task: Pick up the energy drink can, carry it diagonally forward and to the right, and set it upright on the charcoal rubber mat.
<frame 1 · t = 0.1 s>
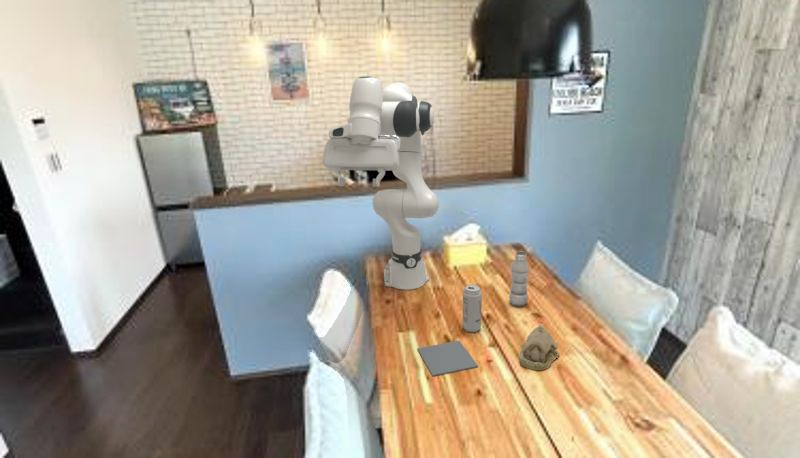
hand: (358, 185, 120), 54 cm above the table, tool tilted 30°, fingers open, 8 cm apart
energy drink can: (471, 329, 154), on the table
ceramic model: (538, 358, 138), on the table
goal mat: (446, 358, 139), on the table
plastic bottle: (518, 304, 169), on the table
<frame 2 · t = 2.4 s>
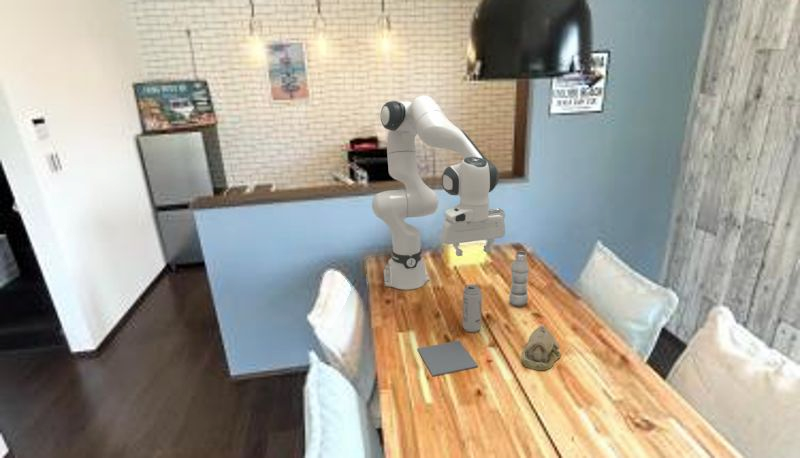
hand: (473, 253, 145), 27 cm above the table, tool pointing down, fingers open, 8 cm apart
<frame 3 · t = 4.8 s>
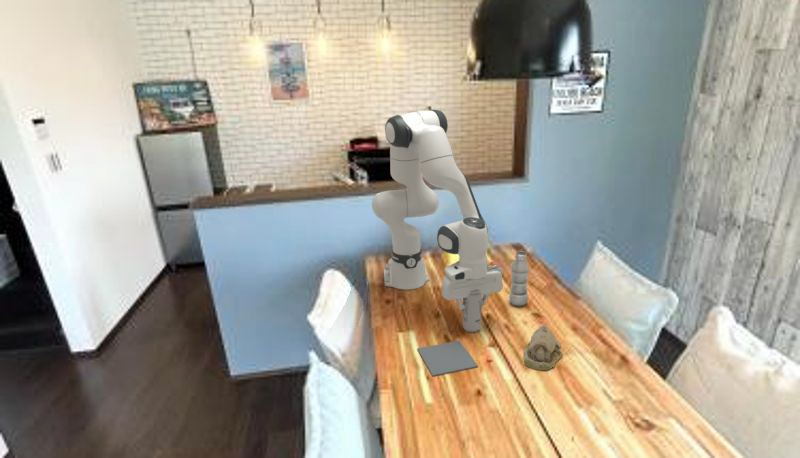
hand: (472, 306, 151), 8 cm above the table, tool pointing down, fingers closed on energy drink can, 6 cm apart
energy drink can: (471, 329, 154), on the table, touching gripper
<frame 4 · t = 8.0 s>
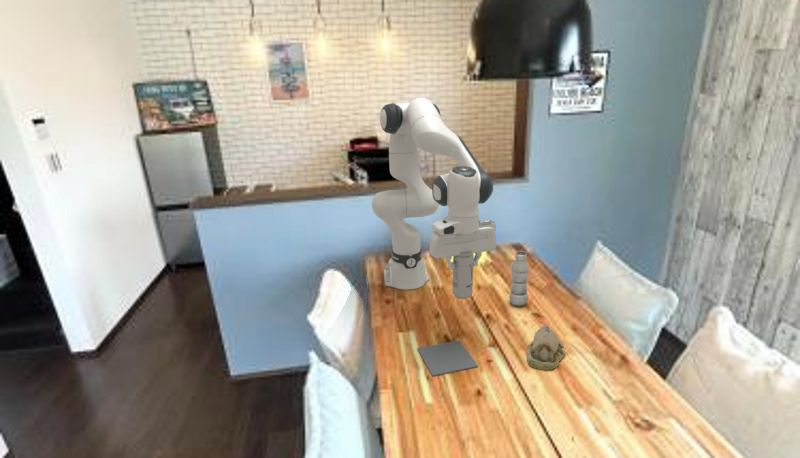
hand: (463, 267, 138), 26 cm above the table, tool pointing down, fingers closed on energy drink can, 6 cm apart
energy drink can: (462, 295, 141), point 16 cm above the table, touching gripper
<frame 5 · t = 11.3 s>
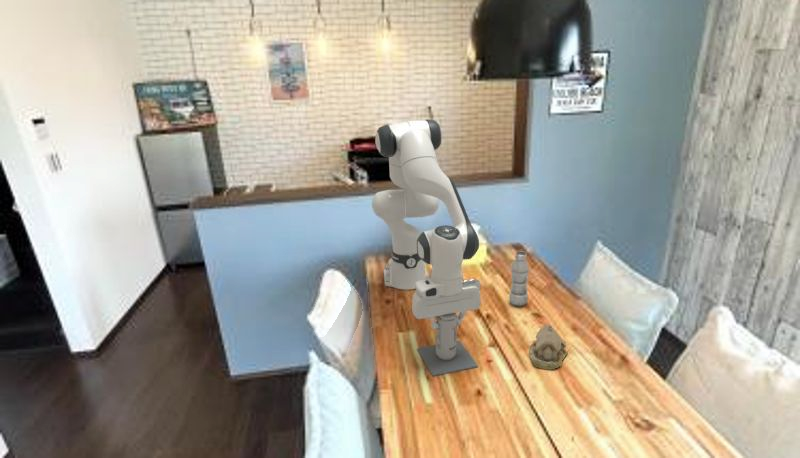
hand: (446, 325, 135), 11 cm above the table, tool pointing down, fingers closed on energy drink can, 6 cm apart
energy drink can: (445, 355, 139), resting on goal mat, touching gripper
when the fingers open (11 cm above the table, at t = 12.4 s): energy drink can stays where it is, resting on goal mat.
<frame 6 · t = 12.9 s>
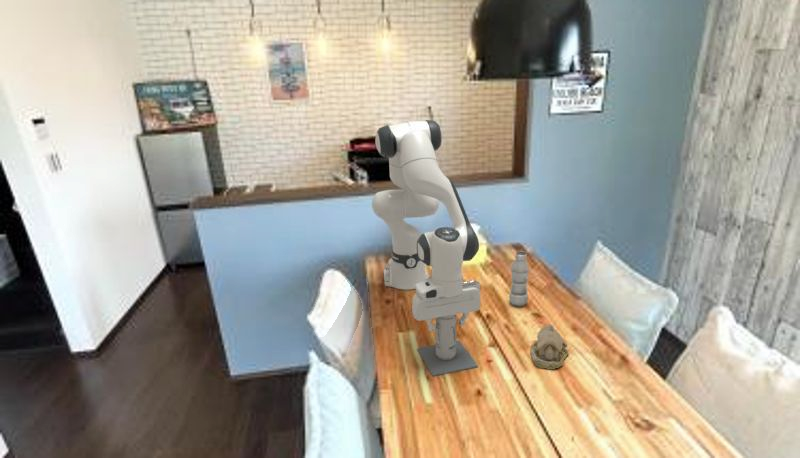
hand: (446, 327, 135), 11 cm above the table, tool pointing down, fingers open, 8 cm apart
energy drink can: (445, 356, 139), resting on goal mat
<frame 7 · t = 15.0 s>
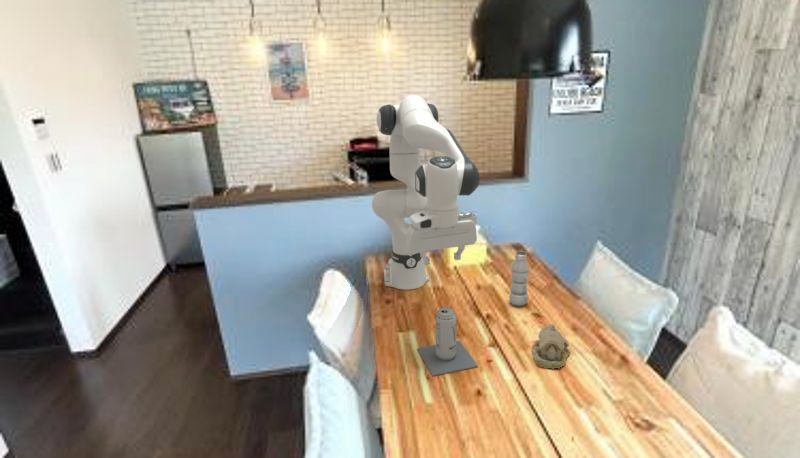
hand: (442, 261, 133), 30 cm above the table, tool pointing down, fingers open, 8 cm apart
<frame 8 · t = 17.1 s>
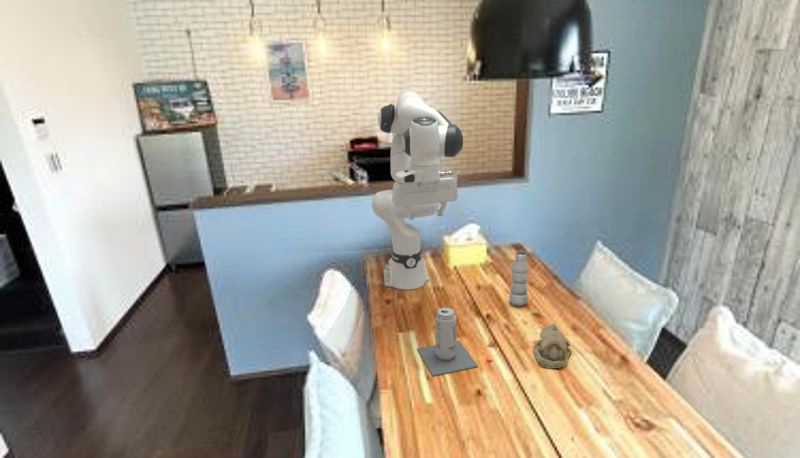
hand: (425, 217, 142), 39 cm above the table, tool pointing down, fingers open, 8 cm apart
at the end: energy drink can inside the target area on the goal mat (0.6 cm from its centre), point 0.3 cm above the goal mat's base; energy drink can tilted 0°; the gripper is holding nothing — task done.
